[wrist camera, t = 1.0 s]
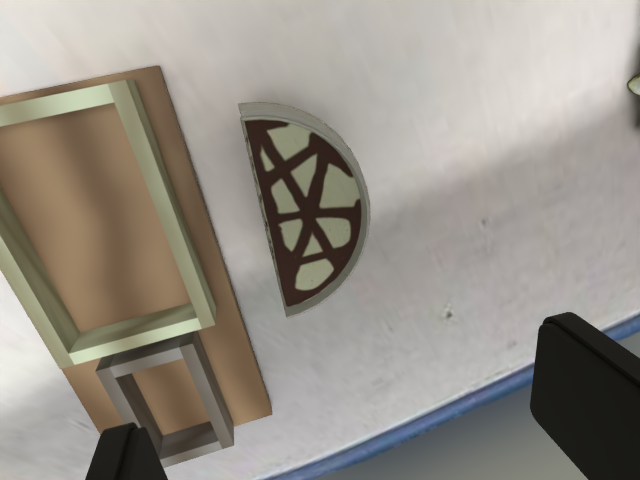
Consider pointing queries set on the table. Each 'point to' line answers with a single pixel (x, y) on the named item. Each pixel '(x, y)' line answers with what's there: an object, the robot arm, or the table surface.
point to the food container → (306, 201)
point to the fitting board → (124, 262)
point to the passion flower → (635, 84)
